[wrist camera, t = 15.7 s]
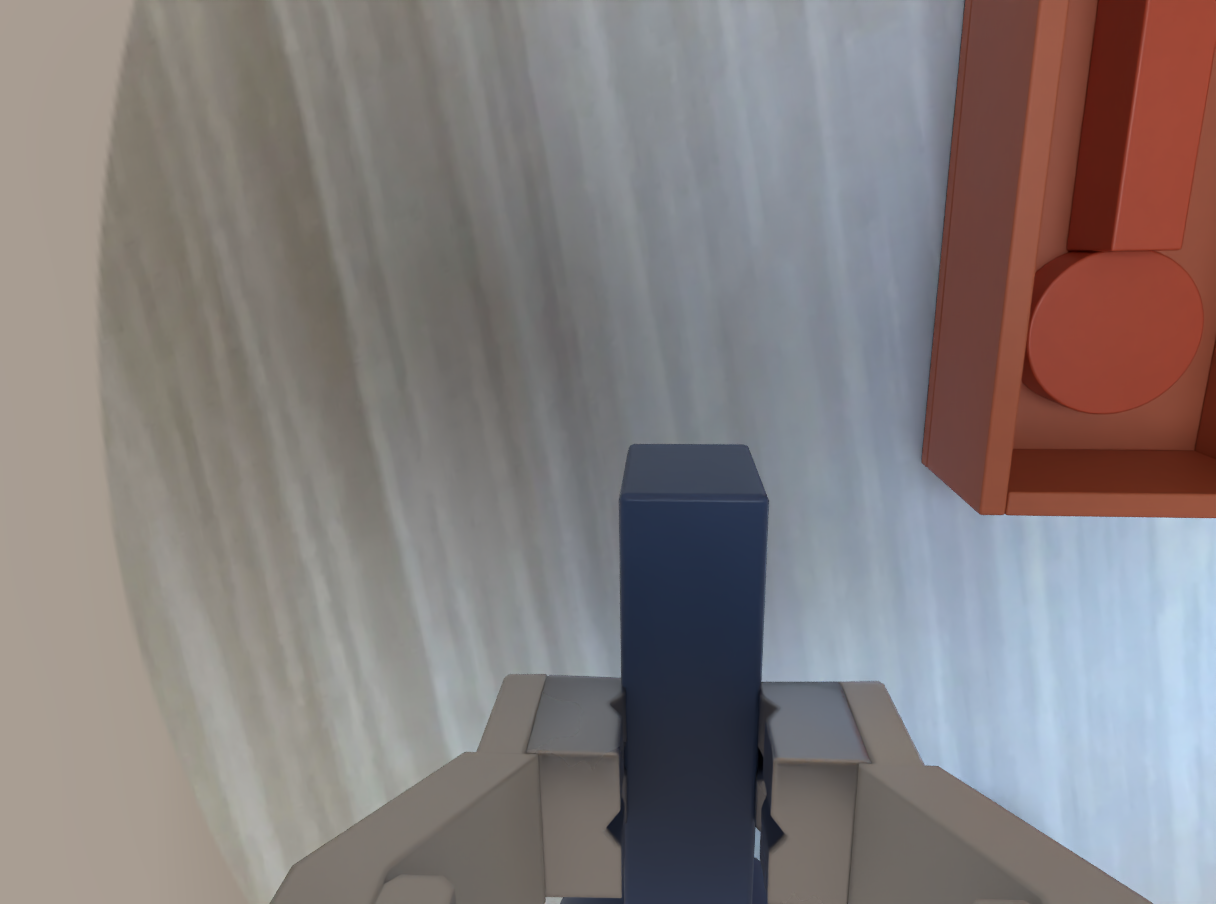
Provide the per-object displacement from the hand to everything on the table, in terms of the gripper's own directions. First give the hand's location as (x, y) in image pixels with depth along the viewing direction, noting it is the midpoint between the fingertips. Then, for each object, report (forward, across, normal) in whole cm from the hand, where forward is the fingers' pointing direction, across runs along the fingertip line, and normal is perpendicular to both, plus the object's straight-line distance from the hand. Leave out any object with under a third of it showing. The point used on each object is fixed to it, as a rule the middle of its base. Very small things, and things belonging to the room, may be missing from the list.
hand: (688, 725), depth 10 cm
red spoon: (+13, -11, -6) cm, 18 cm away
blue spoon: (+2, 0, +2) cm, 3 cm away
